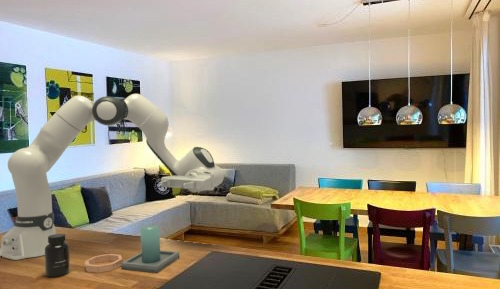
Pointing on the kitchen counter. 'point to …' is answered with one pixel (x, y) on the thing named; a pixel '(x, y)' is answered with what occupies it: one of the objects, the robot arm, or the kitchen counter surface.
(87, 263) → the holder
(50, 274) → the supplement bottle
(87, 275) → the kitchen counter surface
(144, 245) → the teal green cylinder
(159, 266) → the tray
